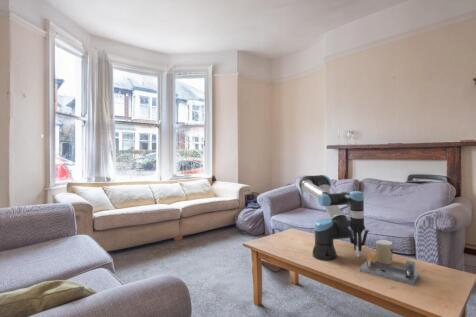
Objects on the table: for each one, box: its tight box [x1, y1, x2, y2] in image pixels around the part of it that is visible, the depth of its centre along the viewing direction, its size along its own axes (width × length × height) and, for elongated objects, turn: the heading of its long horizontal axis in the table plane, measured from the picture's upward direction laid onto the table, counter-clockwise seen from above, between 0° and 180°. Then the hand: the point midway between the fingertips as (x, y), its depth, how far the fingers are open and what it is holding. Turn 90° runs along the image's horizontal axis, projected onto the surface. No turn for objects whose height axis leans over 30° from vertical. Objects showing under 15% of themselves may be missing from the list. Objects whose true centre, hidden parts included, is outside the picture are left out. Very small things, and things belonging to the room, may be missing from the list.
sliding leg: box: [366, 252, 378, 267], centre depth 154 cm, size 4×8×6 cm, turn 138°
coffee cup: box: [375, 239, 394, 265], centre depth 162 cm, size 9×9×12 cm
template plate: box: [359, 259, 419, 286], centre depth 147 cm, size 26×13×8 cm, turn 48°
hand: (358, 255), depth 160 cm, fingers closed
